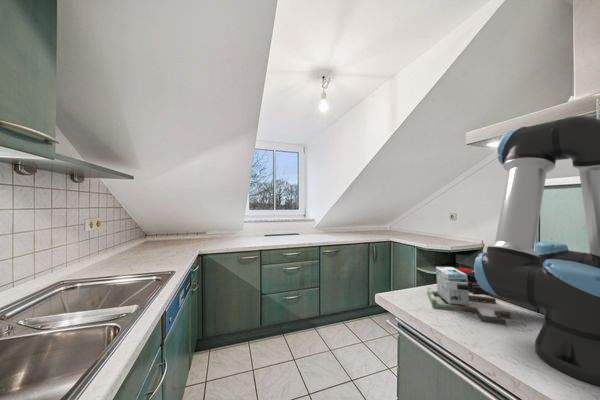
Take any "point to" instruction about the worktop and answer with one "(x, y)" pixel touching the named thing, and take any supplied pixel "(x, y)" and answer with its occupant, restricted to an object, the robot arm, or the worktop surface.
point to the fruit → (464, 271)
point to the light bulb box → (449, 294)
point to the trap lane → (471, 308)
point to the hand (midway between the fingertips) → (442, 279)
